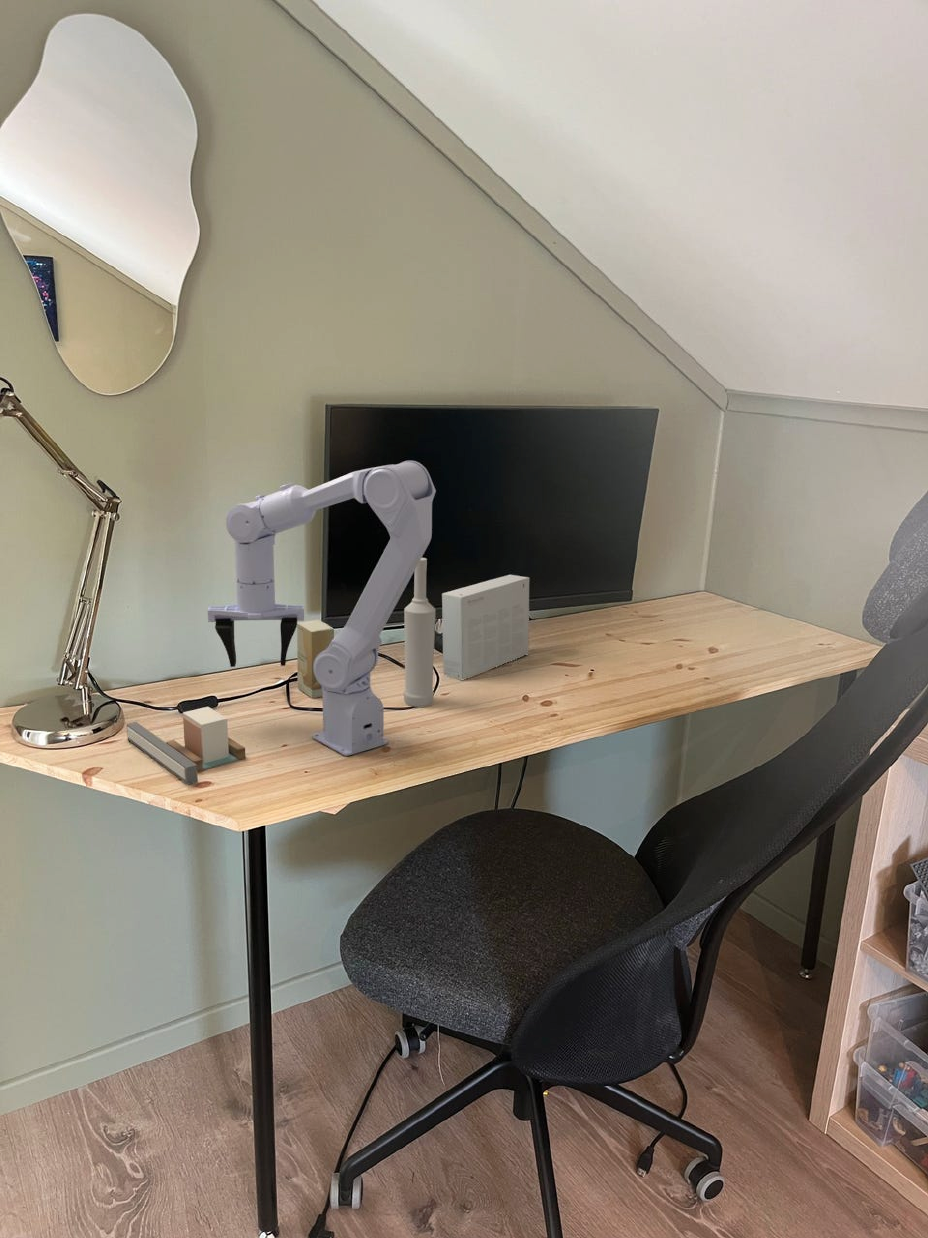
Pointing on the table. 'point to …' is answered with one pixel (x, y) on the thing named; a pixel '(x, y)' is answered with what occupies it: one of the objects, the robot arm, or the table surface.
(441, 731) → the table surface
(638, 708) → the table surface
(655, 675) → the table surface
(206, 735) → the carton
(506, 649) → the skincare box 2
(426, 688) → the bottle
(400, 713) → the table surface
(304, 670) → the skincare box
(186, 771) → the rail
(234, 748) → the facing slot
